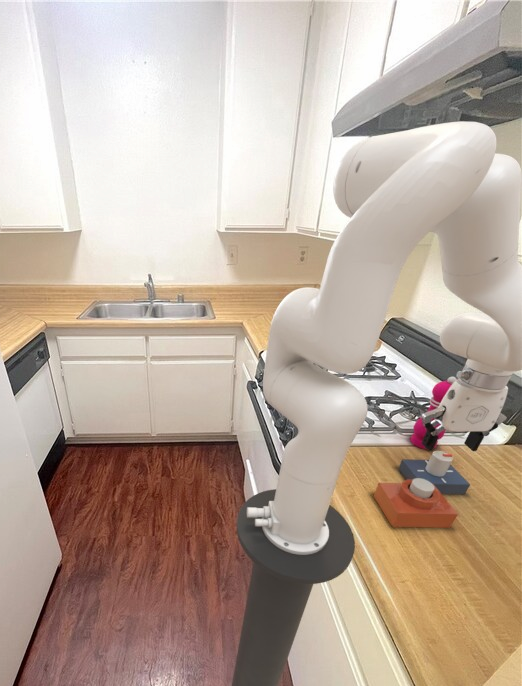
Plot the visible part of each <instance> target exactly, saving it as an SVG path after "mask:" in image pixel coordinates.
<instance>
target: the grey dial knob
mask: <svg viewBox="0 0 522 686" xmlns="http://www.w3.org/2000/svg"><path fill="white" fill-rule="evenodd" d="M428 460H429V462H428V464H427V466H426V471H427V472H428V473H430V474H432V475H434V476H439V477H441V476H444V475H445V473H446V472H447V470H448V468H449V466H450V464H451V465H452V462H453V460H454V458H453V454H451V453H448V452H446V451H442V450H433V452H432V453H431V455H430V458H429V459H428Z"/></svg>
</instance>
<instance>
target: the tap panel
mask: <svg viewBox="0 0 522 686" xmlns="http://www.w3.org/2000/svg"><path fill="white" fill-rule="evenodd" d="M429 460H430V459H413V458H412V459H407V458H406V459H401V461H400V463H399V466H398V470H399V472H400V473H401V474H402V476H403V477H404V478H405V480H407V479H415V478H421V479H425V480H427V481H429V482H431V483H432V484H434V485H435V487H436V488H437V489H438V490H439V491H440V493H441V494H442V495H465V494H466V493H467V491H468V490H469V488H470V486H471V484H470V482H469V481H468V480H467V479H466V478H465V477H464V476H463V475H462V474H461V473H460V472H459V471H458V470H457V469H456V468H455V467H454V466H453V465H452V463H451V464H450V466H449V468H448V470H447V472H446V473H445V475H444V476H441V477H439V476H434V475H432V474H430V473H428V472H427V471H426V466H427V464H428V462H429Z"/></svg>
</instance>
